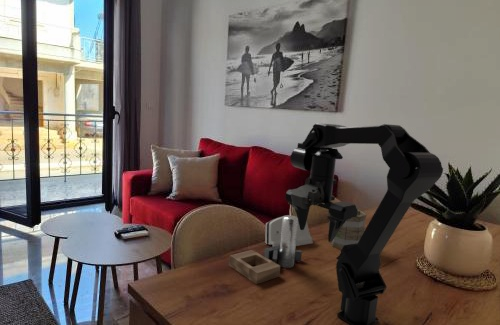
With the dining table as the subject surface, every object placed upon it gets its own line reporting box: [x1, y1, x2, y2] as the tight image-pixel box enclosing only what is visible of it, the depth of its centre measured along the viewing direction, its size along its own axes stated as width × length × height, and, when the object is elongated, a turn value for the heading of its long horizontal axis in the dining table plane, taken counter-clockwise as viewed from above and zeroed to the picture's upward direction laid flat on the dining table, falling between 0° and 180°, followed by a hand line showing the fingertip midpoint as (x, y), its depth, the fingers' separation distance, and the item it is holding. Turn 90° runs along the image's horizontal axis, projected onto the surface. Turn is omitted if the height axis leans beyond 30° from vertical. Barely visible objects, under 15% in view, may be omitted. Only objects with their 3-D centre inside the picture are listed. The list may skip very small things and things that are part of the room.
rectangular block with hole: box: [228, 249, 281, 285], centre depth 91 cm, size 12×8×3 cm, turn 38°
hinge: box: [264, 216, 314, 247], centre depth 114 cm, size 17×5×10 cm, turn 119°
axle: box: [278, 214, 298, 269], centre depth 96 cm, size 4×4×14 cm
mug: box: [328, 209, 367, 251], centre depth 117 cm, size 16×11×12 cm
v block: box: [263, 245, 303, 264], centre depth 99 cm, size 7×12×3 cm, turn 128°
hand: (315, 235), depth 85 cm, fingers open, 9 cm apart
